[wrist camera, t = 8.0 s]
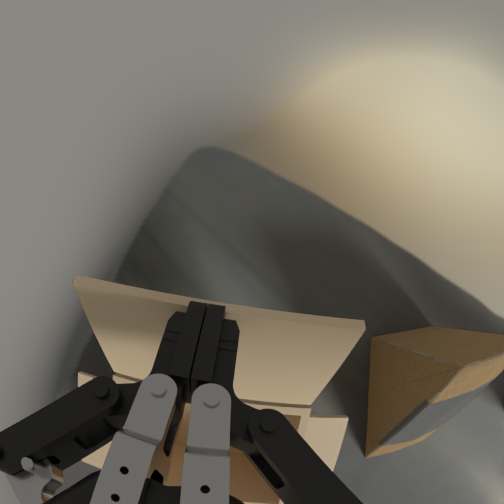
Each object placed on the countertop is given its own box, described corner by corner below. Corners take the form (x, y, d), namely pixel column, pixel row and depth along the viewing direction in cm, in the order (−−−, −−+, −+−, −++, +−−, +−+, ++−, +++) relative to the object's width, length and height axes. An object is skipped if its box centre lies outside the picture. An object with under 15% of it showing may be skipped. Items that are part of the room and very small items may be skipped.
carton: (320, 377, 27) (350, 409, 18) (292, 491, 25) (306, 540, 16) (122, 345, 27) (78, 363, 18) (119, 462, 25) (88, 503, 16)
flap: (310, 404, 18) (310, 397, 18) (366, 328, 12) (364, 318, 13) (114, 371, 18) (116, 365, 18) (72, 281, 12) (77, 273, 13)
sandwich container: (361, 459, 26) (420, 534, 11) (367, 336, 28) (461, 366, 13) (423, 441, 26) (495, 493, 11) (432, 325, 28) (532, 336, 13)
